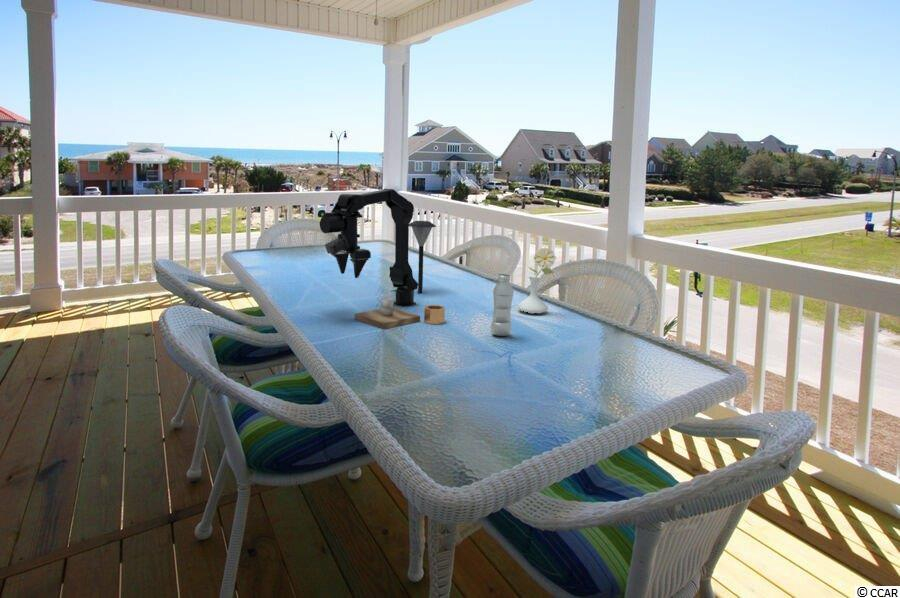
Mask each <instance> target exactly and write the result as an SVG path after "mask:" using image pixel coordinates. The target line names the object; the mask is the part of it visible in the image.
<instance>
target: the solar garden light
mask: <svg viewBox="0 0 900 598" xmlns="http://www.w3.org/2000/svg"><path fill="white" fill-rule="evenodd" d="M409 227H411V228H412V232H413V234H414V237H415V239H416V242H417V245H418V272H417V273H418V276H417V277H418V278H417V279H418V280H417V283H418V287H417V293H418V294H423V285H424V284H423V283H424V282H423V281H424V276H423V275H424V246H425V243H426V242H427V239H428V237H429V235H430V233H431V231H432V229H433V228H436V227H437V225H436V224H434V223H433V222H431V221H429V220H414V221H412V222H410V223H409Z"/></svg>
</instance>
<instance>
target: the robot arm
mask: <svg viewBox="0 0 900 598" xmlns="http://www.w3.org/2000/svg"><path fill="white" fill-rule="evenodd" d="M383 202H385V204H386V207H388V208H389V209H390V214H391V218H392V220H393V223H394V225H395V233H394V236H395V237H394V239H395V242H394V243H395V245H394V246H395V249H394V250H395V251H394V252H395V257H394V259H395V261H394V263H393V265H392V266H389V275H388V276H389V278H390V282H392V286H393V288H396V292H395V301H393V304H396V305H398V306H402V307H407V306H412V305H416V304H417V302H416V301H415V299H414V298H415V297H414V296H415V292H414V291H415V290H418V281H417V280H416V279H415V278H414V273H413V269H412V267H411V265H410V263H409V236H410V235H409V227H410V226H409V224H410V223H411V221H412V220H413V216H414V208H415V207H414V204H413V203H412V201H410V200H408V199H407V198H406V197H404V196H403V195H401V194H400V193H398V192H397V191H396V190H395V189H394V188H384V189H379V190H374V191H370V192H366V193H365V192H364V193H360V194H353V193H342V194H340V195H339V196H338V198H337V201H336V203H335V205H334V207H333V209H332V210H331V212H323V214H322V215H323V216H322V217H321V218H320V221H319V228H320V231H321V232H322V233H323V234H334V233H338V234H337V238H335V239H333V240H331V241H329V242H326V243H325V244H324V247H325V250H326V252H327V254H330V255H331V256H333V257H334V258H335V259H336V262H337V265H338V268H339V271H340V274H342V275H343V274H345V272H346V268H347V263H348V259H349V260H350V262H352V265H353V275H354V278H355V279H358V278H359V277H360V274H361V273H362V271H363V268H364V266H365V265H366V263H367V262H368V261H369V259H371V258H372V257H371V256H372V254H371V251H370V250H369V249H366V248H361V246H360V245H359V244H358V238H361V234H360V233H358V218H360V219H361V218H363V215H362V214H361V212H359V211H361V210H362V209H363V208H364V207H366V206H369V205H374V204H379V203H383ZM349 257H350V258H349Z"/></svg>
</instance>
